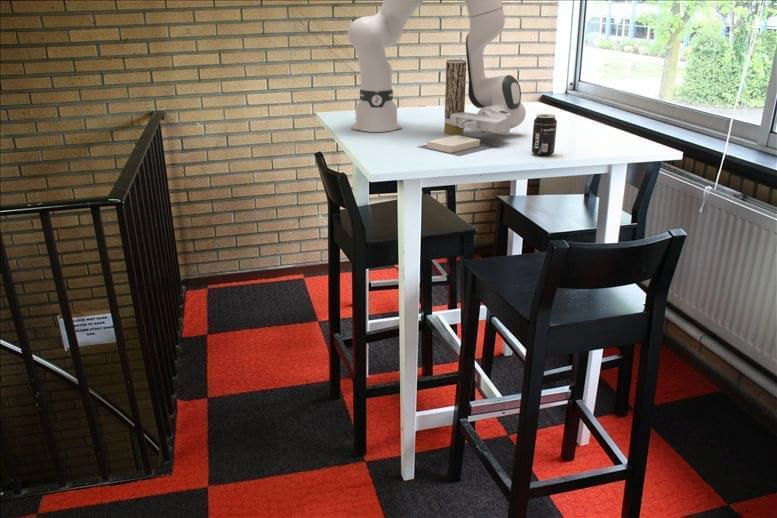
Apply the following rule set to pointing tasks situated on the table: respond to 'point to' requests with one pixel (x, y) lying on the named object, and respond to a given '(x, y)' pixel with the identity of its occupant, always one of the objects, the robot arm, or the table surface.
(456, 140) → the tile
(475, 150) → the mat
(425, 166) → the table surface
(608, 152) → the table surface
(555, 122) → the beverage can
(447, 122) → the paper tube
